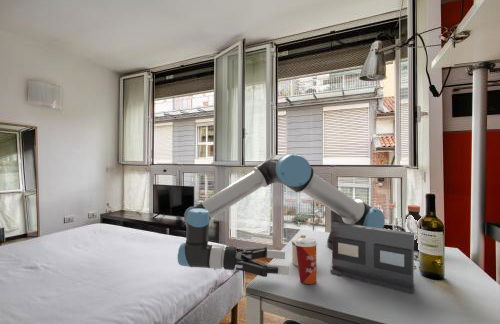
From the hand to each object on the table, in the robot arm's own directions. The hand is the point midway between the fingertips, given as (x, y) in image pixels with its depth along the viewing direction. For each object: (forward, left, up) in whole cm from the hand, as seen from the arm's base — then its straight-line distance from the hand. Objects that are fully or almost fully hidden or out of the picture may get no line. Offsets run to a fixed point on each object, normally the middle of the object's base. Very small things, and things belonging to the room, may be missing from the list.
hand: (286, 262), depth 85 cm
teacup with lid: (-21, -3, -8) cm, 23 cm away
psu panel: (-21, +22, -8) cm, 32 cm away
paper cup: (-7, +5, -8) cm, 11 cm away
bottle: (-64, +34, -8) cm, 74 cm away
